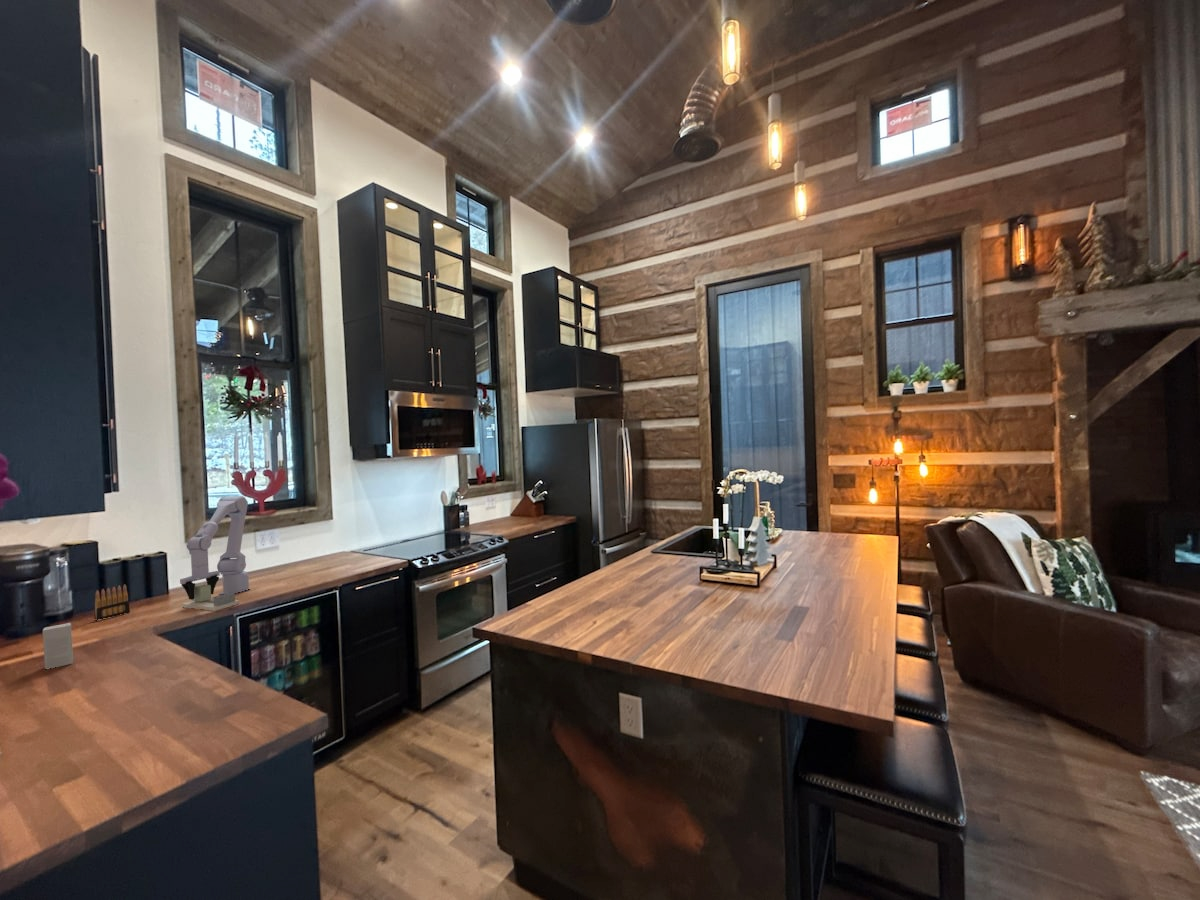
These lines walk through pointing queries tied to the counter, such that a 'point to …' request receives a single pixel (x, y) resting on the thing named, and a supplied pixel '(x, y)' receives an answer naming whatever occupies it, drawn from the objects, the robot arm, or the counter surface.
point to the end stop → (224, 599)
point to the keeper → (202, 593)
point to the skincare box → (57, 645)
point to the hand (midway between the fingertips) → (201, 596)
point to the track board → (207, 605)
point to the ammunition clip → (111, 603)
